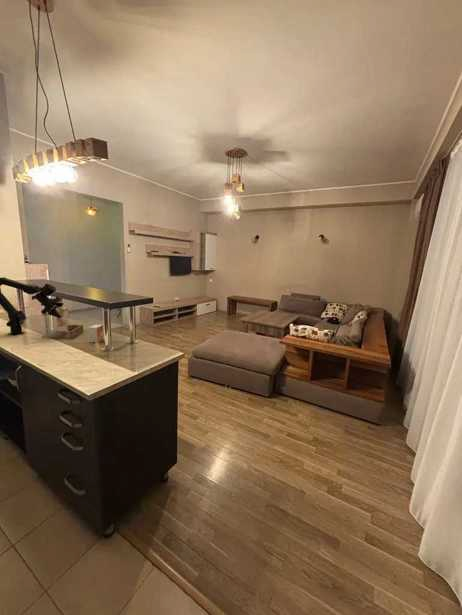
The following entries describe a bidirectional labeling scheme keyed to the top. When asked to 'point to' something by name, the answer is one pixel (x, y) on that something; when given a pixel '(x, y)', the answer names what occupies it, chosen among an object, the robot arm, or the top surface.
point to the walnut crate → (70, 332)
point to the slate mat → (50, 334)
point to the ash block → (62, 316)
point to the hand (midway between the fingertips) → (62, 316)
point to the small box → (95, 333)
